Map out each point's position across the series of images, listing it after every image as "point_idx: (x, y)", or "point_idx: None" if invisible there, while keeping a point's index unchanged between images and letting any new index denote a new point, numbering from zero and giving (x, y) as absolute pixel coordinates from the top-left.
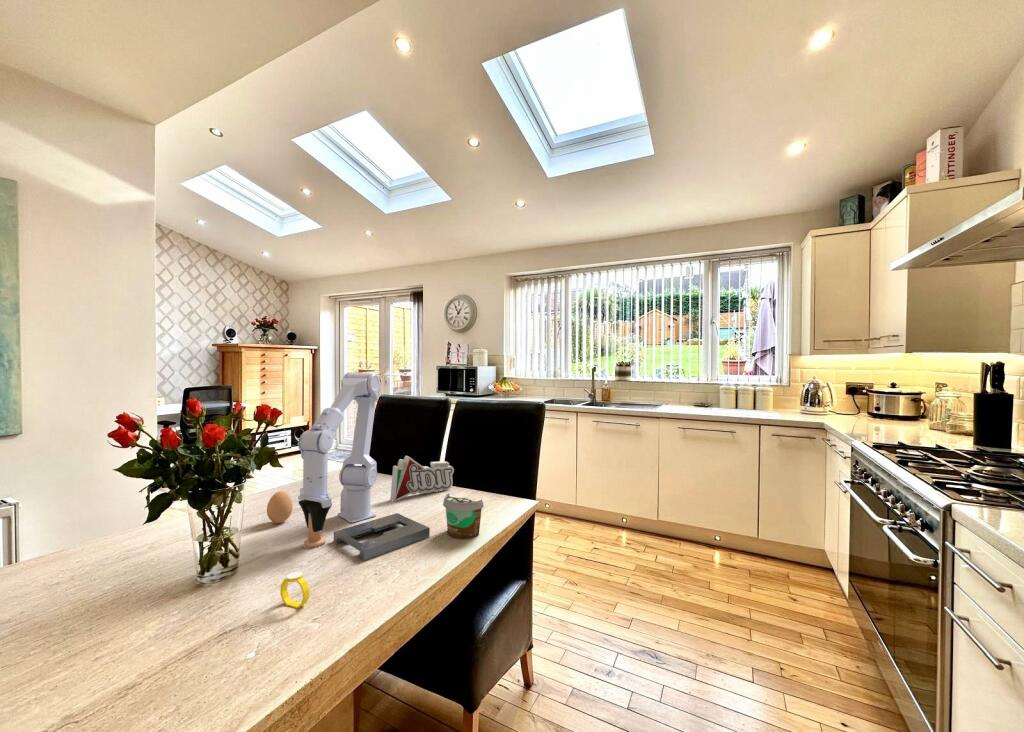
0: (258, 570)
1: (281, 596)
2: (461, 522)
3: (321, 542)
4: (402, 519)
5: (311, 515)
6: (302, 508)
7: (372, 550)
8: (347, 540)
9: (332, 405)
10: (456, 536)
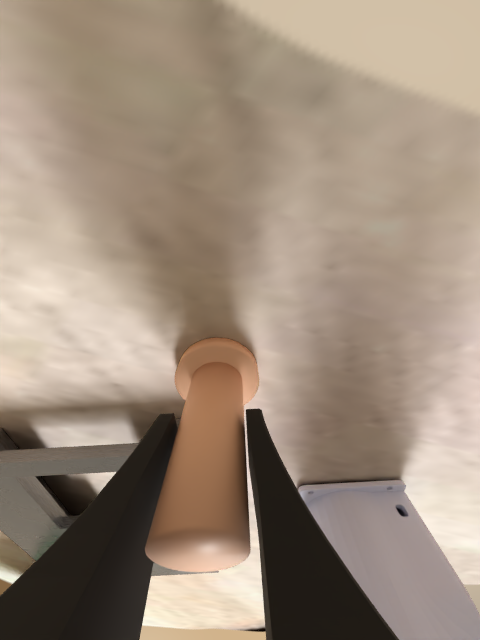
0: (37, 47)
1: None
2: None
3: (179, 391)
4: (159, 568)
5: (71, 555)
6: (313, 577)
7: None
8: (64, 458)
9: None
10: None
